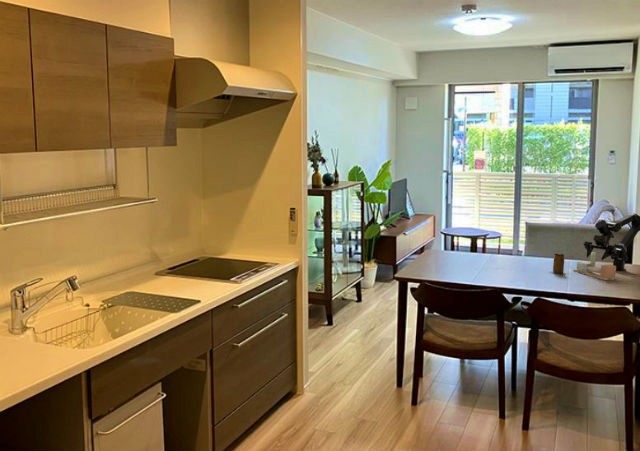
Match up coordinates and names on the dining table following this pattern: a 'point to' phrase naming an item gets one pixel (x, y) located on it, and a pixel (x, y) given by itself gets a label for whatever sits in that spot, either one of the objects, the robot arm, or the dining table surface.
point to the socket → (608, 271)
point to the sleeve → (583, 266)
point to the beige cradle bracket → (593, 264)
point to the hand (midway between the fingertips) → (594, 258)
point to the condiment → (558, 264)
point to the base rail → (593, 274)
